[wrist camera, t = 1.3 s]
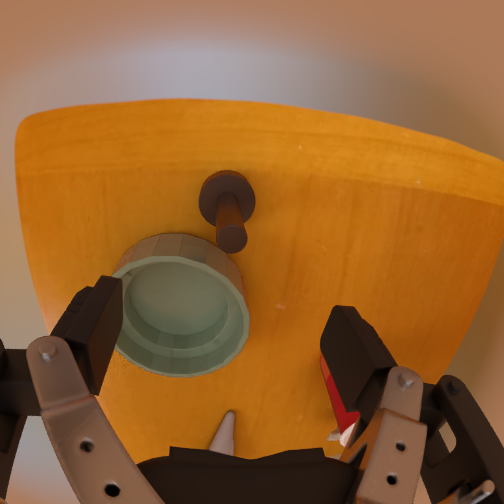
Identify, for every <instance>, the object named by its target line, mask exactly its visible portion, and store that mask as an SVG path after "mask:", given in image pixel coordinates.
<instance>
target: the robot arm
mask: <svg viewBox="0 0 504 504" xmlns="http://www.w3.org/2000/svg"><path fill="white" fill-rule="evenodd" d="M122 324H123V283H122V279H121V278H116V277H110V276H104V275H102V276H101V277H100V278H99V280H98V281H97V283H96V284H95V286H94V287H88V286H87V287H85V288H84V289H82V290H81V291H79V292H77V293H76V295H75V296H74V298H73V299H72V301H71V303H70V304H69V305H68V307H67V308H66V311H65V312H64V313H63V315H62V316H61V318H60V319H59V321H58V323H57V324H56V326H55V327H54V329H53V331H52V332H51V334H50V336H43V337H40V338H38V339H36V340H34V341H33V342H32V343H31V344H30V345H29V346H28V348H27V349H5V348H4V345H3V342H2V340H1V339H0V504H7V502H6V501H5V498H6V493H7V488H8V484H9V479H10V475H11V471H12V466H13V463H14V459H15V455H16V452H17V448H18V444H19V441H20V438H21V435H22V431H23V428H24V425H25V422H26V419H27V416H41V417H42V420H43V423H44V426H45V429H46V431H47V434H48V436H49V439H50V441H51V444H52V446H53V448H54V451H55V453H56V456H57V458H58V460H59V462H60V464H61V467H62V469H63V471H64V473H65V475H66V477H67V479H68V481H69V483H70V485H71V487H72V489H73V491H74V493H75V494H76V496H77V498H78V500H79V502H80V503H81V504H413V501H414V497H415V493H416V489H417V484H418V480H419V475H421V477H422V480H423V482H424V485H425V487H426V490H427V493H428V495H429V498H430V501H431V503H432V504H504V448H503V446H502V444H501V442H500V440H499V438H498V437H497V435H496V433H495V432H494V430H493V428H492V427H491V425H490V423H489V422H488V420H487V418H486V417H485V415H484V413H483V412H482V410H481V409H480V407H479V406H478V404H477V402H476V401H475V399H474V398H473V396H472V395H471V393H470V392H469V390H468V389H467V387H466V386H465V384H464V383H463V382H462V381H461V380H459V379H458V378H456V377H454V376H451V375H444V376H442V377H441V378H440V380H439V381H438V383H437V384H436V385H434V384H427V383H423V382H422V379H421V378H420V376H419V375H418V374H417V373H416V372H414V371H413V370H411V369H409V368H407V367H403V366H398V365H397V363H396V362H395V360H394V359H393V357H392V355H391V354H390V352H389V351H388V349H387V348H386V346H385V345H384V344H383V342H382V340H381V339H380V337H378V334H377V333H376V331H375V330H374V328H373V327H372V326H371V325H370V324H369V323H367V322H366V321H365V320H364V319H362V318H361V316H360V315H359V313H358V312H357V310H356V309H355V307H353V306H340V305H336V306H334V307H333V309H332V311H331V314H330V316H329V319H328V321H327V324H326V326H325V328H324V331H323V333H322V336H321V340H320V349H321V352H322V354H323V357H324V359H325V361H326V364H327V366H328V369H329V371H330V374H331V376H332V378H333V381H334V383H335V386H336V388H337V390H338V393H339V395H340V398H341V400H342V403H343V405H344V408H345V410H346V413H349V412H358V411H359V413H360V416H359V417H358V418H357V420H356V422H355V425H354V427H353V430H352V432H351V434H350V437H349V439H348V441H347V444H346V446H345V448H344V451H343V453H342V455H341V457H340V459H339V460H337V459H333V458H328V457H325V455H324V451H323V448H312V449H300V450H288V451H284V452H281V453H277V454H273V455H269V456H266V457H262V458H258V459H244V458H240V457H235V456H231V455H227V454H223V453H219V452H215V451H211V450H202V449H190V448H180V447H171V446H170V453H169V456H163V457H157V458H152V459H149V460H146V461H143V462H140V463H138V464H135V463H134V461H133V460H132V458H131V457H130V455H129V454H128V452H127V451H126V449H125V448H124V446H123V444H122V443H121V441H120V440H119V438H118V436H117V435H116V433H115V431H114V430H113V428H112V426H111V425H110V423H109V421H108V419H107V418H106V416H105V414H104V412H103V410H102V408H101V407H100V405H99V403H98V401H97V399H96V398H95V396H94V395H97V396H99V393H100V389H101V386H102V383H103V380H104V377H105V374H106V371H107V368H108V365H109V362H110V359H111V356H112V354H113V351H114V348H115V345H116V342H117V340H118V337H119V334H120V332H121V328H122ZM91 394H92V395H91ZM446 422H448V424H449V426H450V427H451V429H452V431H453V433H454V435H455V437H456V446H455V448H454V450H453V451H452V452H451V453H449V451H448V449H447V447H446V445H445V443H444V440H443V438H442V436H441V434H440V432H439V429H440V428H441V427H442V426H443V425H444V424H445V423H446Z"/></svg>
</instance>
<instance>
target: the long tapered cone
mask: <svg viewBox="0 0 504 504" xmlns="http://www.w3.org/2000/svg"><path fill="white" fill-rule="evenodd" d="M234 421H235V415H234V412H233V411H229V412H228V413H227V414H226V416H225V418H224V419H223V421H222V423H221V425H220V427H219V429H218V431H217V433H216V435H215V437H214V439H213V441H212V443H211V445H210V447H209V449H208V450H211V451H215V452H219V453H223V454H227V455H231V456H233V451H234V438H233V433H234Z"/></svg>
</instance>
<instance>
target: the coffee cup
mask: <svg viewBox="0 0 504 504" xmlns="http://www.w3.org/2000/svg"><path fill="white" fill-rule="evenodd" d="M320 365H321V369H322V373H323V376H324V379H325V383H326V386H327V390H328V393H329V396H330V400H331V403H332V406H333V410H334V413H335V417H336V420H337V423H338V427H339V430H340V434H341V437H340V443H341V444H342V445H343V446H346V444H347V441H348V439H349V437H350V434H351V432H352V430H353V427H354V425H355V422H356V420H357V418H358V417H359V416H360V413H359V411H358V412H349V413H346V410H345V408H344V405H343V403H342V400H341V398H340V395H339V393H338V390H337V388H336V386H335V383H334V381H333V378H332V376H331V374H330V371H329V369H328V366H327V364H326V361H325V359H324V357H323V354H322V355H321V357H320Z"/></svg>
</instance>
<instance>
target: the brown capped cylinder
mask: <svg viewBox="0 0 504 504" xmlns="http://www.w3.org/2000/svg"><path fill="white" fill-rule="evenodd" d="M199 208H200V211H201V214H202V215H203V217H204V218H205V220H206V221H207V222H209V223H210V224H211V225H213V226H215V227H216V242H217V245H218V247H219V248H220V249H221V250H222V251H224V252H226V253H230V254H233V253H237V252H239V251H241V250H242V249H243V248H244V247H245V246H246V244H247V233H246V230H245V226H244V223H245V222H246V221H247V220H248V219H249V218H250V216H251V215H252V213H253V211H254V208H255V195H254V192H253V189H252V187H251V185H250V184H249V182H248V181H247V179H246V178H245V177H244V176H242V175H241V174H239V173H237V172H234V171H229V170H224V171H219V172H216V173H214V174H212V175H211V176H210V177H208V178H207V179H206V181H205V182H204V184H203V185H202V188H201V192H200V196H199Z"/></svg>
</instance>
